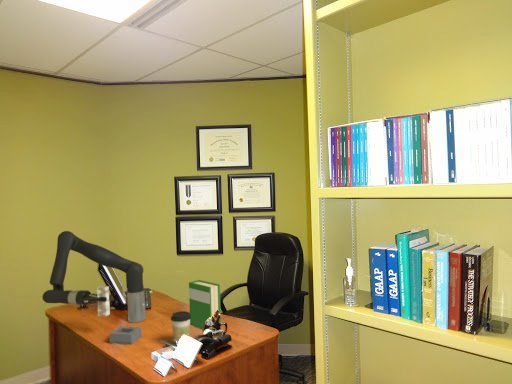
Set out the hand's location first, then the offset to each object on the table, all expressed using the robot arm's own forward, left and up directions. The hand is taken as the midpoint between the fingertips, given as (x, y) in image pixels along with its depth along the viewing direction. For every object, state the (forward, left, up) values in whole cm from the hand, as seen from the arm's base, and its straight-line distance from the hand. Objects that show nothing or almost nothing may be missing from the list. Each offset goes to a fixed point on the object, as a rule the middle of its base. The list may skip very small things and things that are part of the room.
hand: (108, 298), depth 200 cm
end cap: (-6, +11, -20) cm, 24 cm away
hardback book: (-47, +19, -20) cm, 54 cm away
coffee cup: (-27, +34, -20) cm, 48 cm away
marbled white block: (+2, -2, -9) cm, 9 cm away
